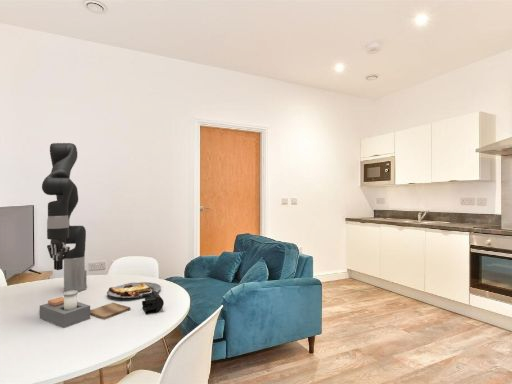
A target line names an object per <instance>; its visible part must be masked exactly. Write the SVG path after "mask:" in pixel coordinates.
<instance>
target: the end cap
mask: <svg viewBox="0 0 512 384" xmlns="http://www.w3.org/2000/svg"><path fill="white" fill-rule="evenodd" d="M150 292H152V293H150ZM150 292H147V293H145V294H142V297H141V299H144V300H142V301H141V305H142V310H143V312H144V314H145V315H151V314H157V313H159V311H161V310H162V309H163V306H164V299H163V298H162V297H161V295H160V294H159V293H158V292H156V291H152V290H151V291H150Z"/></svg>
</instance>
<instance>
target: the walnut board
mask: <svg viewBox="0 0 512 384" xmlns="http://www.w3.org/2000/svg"><path fill="white" fill-rule="evenodd" d="M128 311H131V307H130V306H126V305H123V304H120V303H116V302H111V303H107V304H104V305H101V306H99V307H96V308H92V309H90V316H92V317H95V318H98V319H101V320H107V319H109V318H112V317H113V318H114V317H115V316H117V315H120V314H123V313H126V312H128Z"/></svg>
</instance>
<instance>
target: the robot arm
mask: <svg viewBox="0 0 512 384" xmlns="http://www.w3.org/2000/svg"><path fill="white" fill-rule="evenodd" d="M49 155H50V160H51V165H52V168H51V171H50V173H49V174H48V175H47V176H46V177H45V178H44V179H43V181H42V184H41V190H42V192H43V193H44V194H45V195H47V196H55V197H56V200H52V201H48V203H47V220H46V239H47V240H50V244H47V246H46V248H47V250H48V251H47V252H48V253H49V257H50V259H52V261H53V269H54V270H56V271H61V270H63V293H64V292H66V291H71V290H77V291H78V292H83V291H84V290H86V289H87V288H88V286H87V281H88V280H87V270H86V268H85V267H86V266H85V264H86V263H85V261H86V259H85V256H86V255H85V253H86V242H87V241H86V238H87V231H86V228H85V226H84V225H70V218H71V215H72V213H73V212H74V210H75V209H76V207H77V205H78V203H79V194H78V193H79V192H78V187H77V185H76V183H74V182H73V180H72V179H70V176H71V173H72V169H73V167H74V166H75V164H76V162H77V160H78V148H77V146H76V144H74V143H71V142H67V143H66V142H53V143H51V144H50V145H49ZM74 244H75V245H74ZM67 245H74V247H73V248H72V249H71V247H70V246H67Z"/></svg>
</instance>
